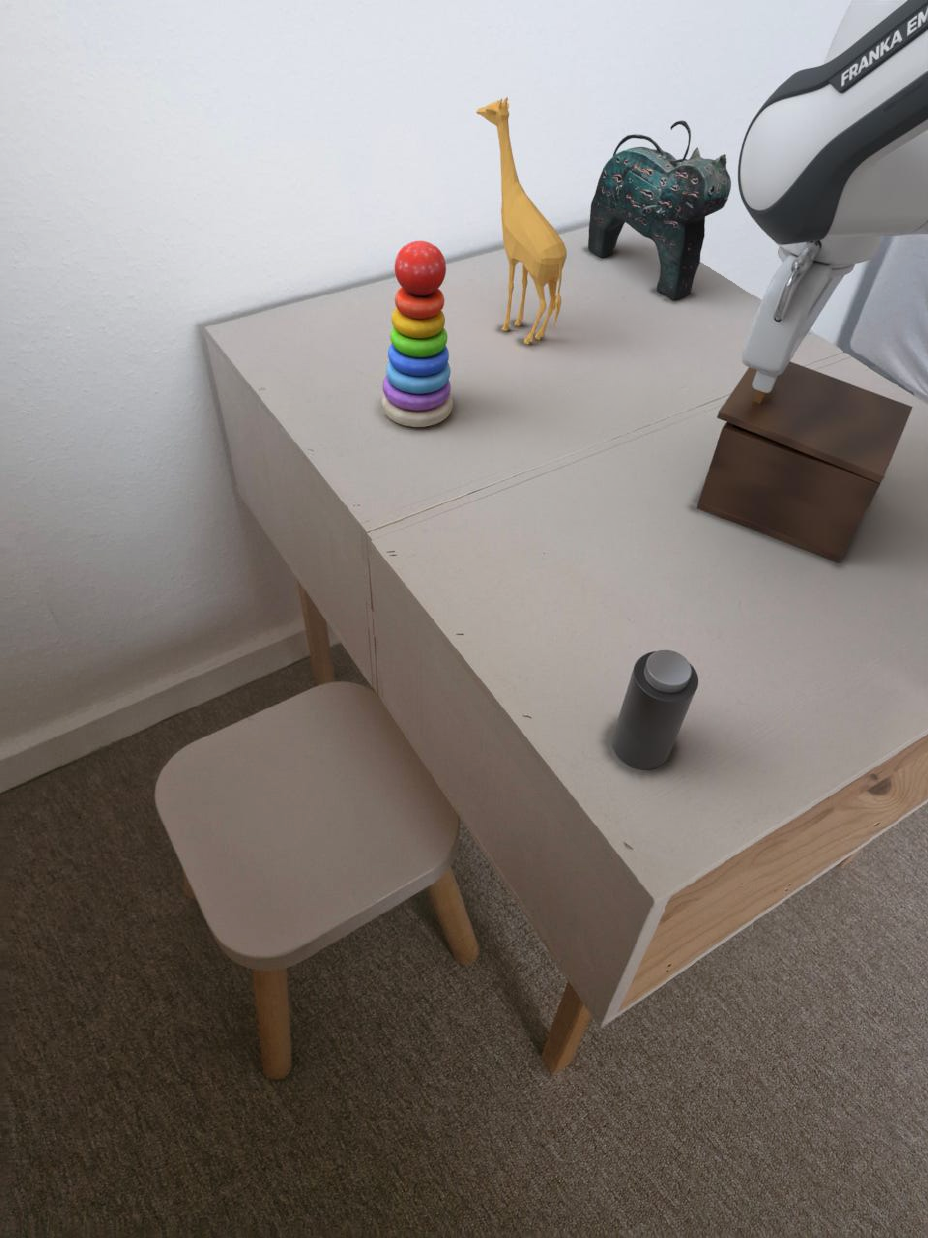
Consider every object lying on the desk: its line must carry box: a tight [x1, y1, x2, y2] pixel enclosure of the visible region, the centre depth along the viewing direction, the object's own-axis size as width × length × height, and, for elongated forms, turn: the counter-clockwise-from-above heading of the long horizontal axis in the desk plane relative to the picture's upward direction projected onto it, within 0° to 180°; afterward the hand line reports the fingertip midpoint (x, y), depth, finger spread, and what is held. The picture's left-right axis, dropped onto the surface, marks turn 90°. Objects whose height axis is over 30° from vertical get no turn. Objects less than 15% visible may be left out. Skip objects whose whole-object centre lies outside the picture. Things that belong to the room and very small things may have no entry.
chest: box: [696, 421, 882, 563], centre depth 84 cm, size 15×13×10 cm
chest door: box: [716, 361, 913, 484], centre depth 78 cm, size 15×13×5 cm
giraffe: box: [475, 96, 568, 346], centre depth 99 cm, size 16×4×25 cm, turn 39°
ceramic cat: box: [587, 120, 732, 301], centre depth 112 cm, size 20×6×20 cm, turn 37°
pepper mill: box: [611, 649, 699, 770], centre depth 63 cm, size 5×5×10 cm
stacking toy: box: [380, 240, 454, 428], centre depth 88 cm, size 8×8×19 cm
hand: (774, 368), depth 79 cm, fingers closed on chest door, 6 cm apart
